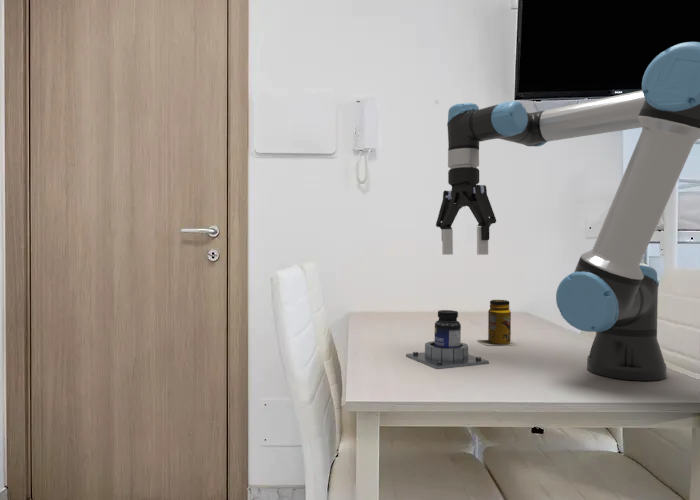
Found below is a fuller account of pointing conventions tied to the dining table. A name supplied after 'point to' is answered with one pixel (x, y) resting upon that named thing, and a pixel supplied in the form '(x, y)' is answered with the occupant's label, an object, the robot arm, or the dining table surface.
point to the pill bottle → (447, 330)
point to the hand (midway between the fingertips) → (464, 254)
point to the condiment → (498, 324)
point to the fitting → (446, 356)
